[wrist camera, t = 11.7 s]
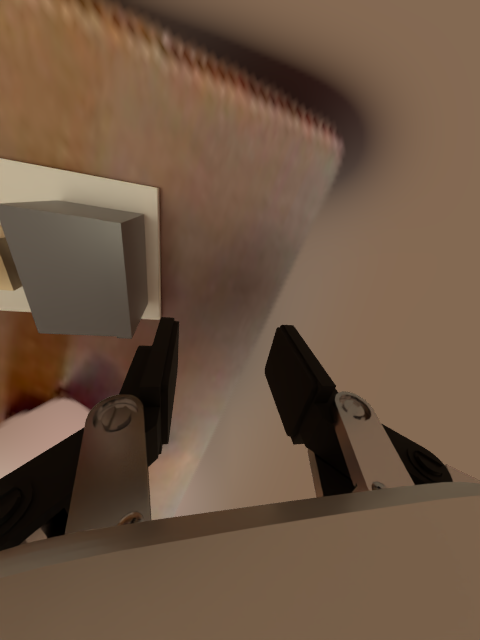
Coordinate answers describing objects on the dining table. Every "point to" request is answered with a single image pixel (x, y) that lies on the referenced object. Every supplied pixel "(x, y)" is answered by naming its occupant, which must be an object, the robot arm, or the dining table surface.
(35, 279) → the cap
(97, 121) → the dining table surface
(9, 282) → the slat
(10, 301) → the base
